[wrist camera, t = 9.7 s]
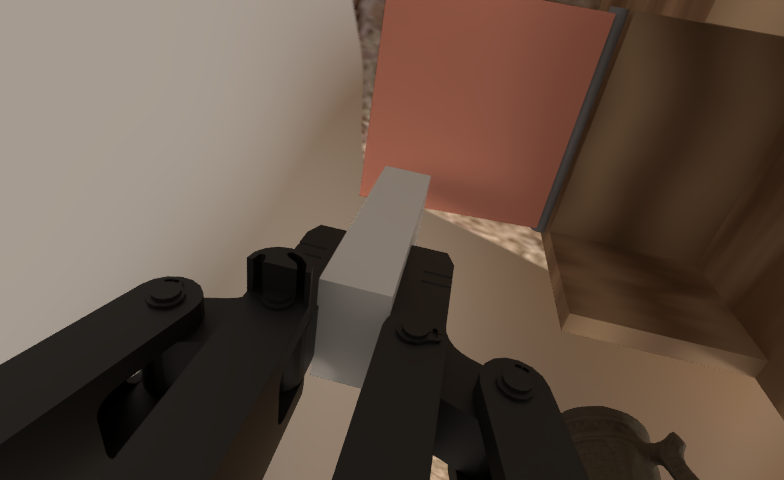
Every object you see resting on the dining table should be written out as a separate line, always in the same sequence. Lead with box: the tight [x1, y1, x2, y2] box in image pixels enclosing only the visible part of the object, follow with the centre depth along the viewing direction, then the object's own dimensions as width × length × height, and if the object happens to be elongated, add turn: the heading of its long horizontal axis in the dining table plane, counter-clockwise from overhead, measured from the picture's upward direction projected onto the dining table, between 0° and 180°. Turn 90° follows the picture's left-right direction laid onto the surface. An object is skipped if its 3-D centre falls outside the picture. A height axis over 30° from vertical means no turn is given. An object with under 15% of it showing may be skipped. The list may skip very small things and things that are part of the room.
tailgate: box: [360, 0, 630, 232], centre depth 28 cm, size 2×14×13 cm
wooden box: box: [541, 0, 784, 419], centre depth 26 cm, size 11×16×21 cm
